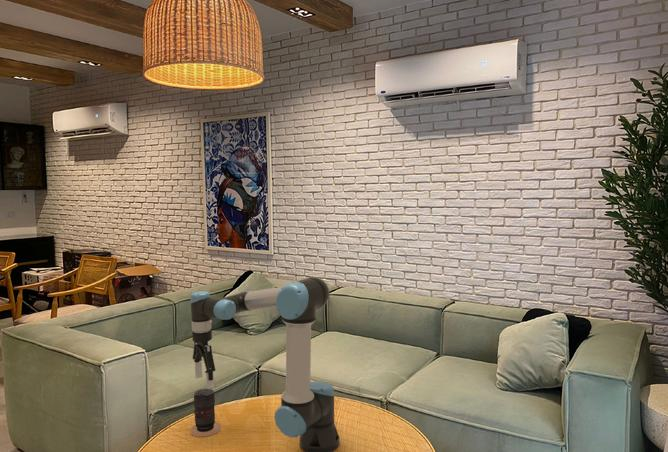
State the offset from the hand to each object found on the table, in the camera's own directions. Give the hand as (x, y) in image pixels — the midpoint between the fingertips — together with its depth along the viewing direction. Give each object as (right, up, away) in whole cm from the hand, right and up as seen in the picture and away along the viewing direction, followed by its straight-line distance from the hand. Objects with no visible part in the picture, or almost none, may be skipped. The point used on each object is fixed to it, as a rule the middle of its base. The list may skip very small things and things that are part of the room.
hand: (204, 382), depth 200 cm
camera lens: (0, -19, +1) cm, 19 cm away
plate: (0, -20, +2) cm, 20 cm away
